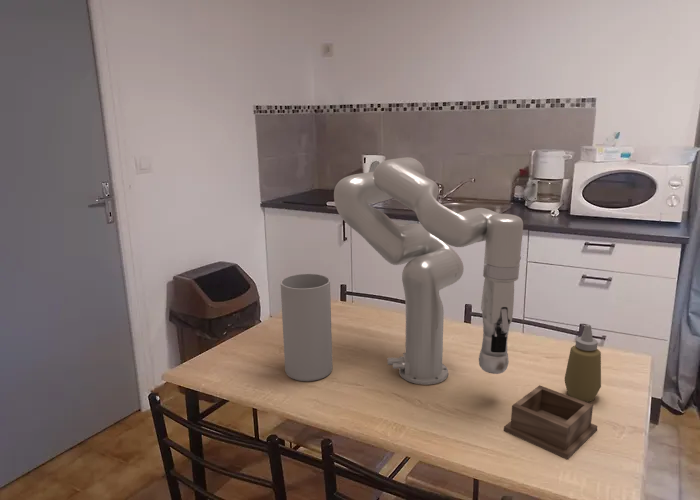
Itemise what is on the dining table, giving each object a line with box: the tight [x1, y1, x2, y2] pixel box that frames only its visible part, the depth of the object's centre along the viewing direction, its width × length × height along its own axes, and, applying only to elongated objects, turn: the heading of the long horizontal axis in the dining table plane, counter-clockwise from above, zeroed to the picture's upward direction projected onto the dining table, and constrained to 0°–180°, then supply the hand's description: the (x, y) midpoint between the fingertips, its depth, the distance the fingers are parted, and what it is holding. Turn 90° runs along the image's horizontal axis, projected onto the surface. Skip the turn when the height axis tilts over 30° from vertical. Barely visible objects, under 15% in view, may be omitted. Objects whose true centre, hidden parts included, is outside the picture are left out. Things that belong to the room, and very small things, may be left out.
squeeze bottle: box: [564, 324, 602, 403], centre depth 128 cm, size 8×8×18 cm
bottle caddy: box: [503, 384, 598, 460], centre depth 116 cm, size 14×14×6 cm
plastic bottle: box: [478, 305, 511, 375], centre depth 125 cm, size 6×7×20 cm
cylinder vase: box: [280, 273, 333, 382], centre depth 142 cm, size 12×12×25 cm
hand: (494, 345), depth 126 cm, fingers closed on plastic bottle, 5 cm apart
